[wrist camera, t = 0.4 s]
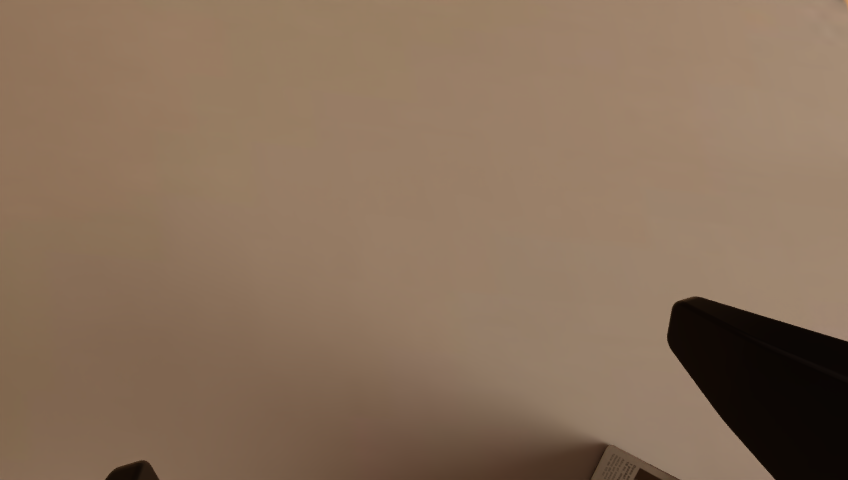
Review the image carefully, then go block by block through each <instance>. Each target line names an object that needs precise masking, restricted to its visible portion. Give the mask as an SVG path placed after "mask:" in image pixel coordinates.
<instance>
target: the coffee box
mask: <svg viewBox="0 0 848 480" xmlns="http://www.w3.org/2000/svg"><path fill="white" fill-rule="evenodd" d="M591 480H680V479H678V478H676V477H674V476H672V475H670V474H668V473H666V472H664V471H662V470H660V469H658V468H656V467H654V466H652V465H650V464H648V463H646V462H645V461H643V460H641V459H639V458H637V457H635V456H633V455H631V454H629V453H627V452H625V451H623V450H621V449H619V448H617V447H616V446H614V445H609V446H608V447H607V448H606V450H605V452H604V454H603V456H602V458H601V460H600V462H599V464H598V466H597V468H596V470H595V472H594V474H593V476H592V479H591Z"/></svg>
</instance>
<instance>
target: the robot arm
mask: <svg viewBox="0 0 848 480" xmlns="http://www.w3.org/2000/svg"><path fill="white" fill-rule="evenodd" d="M667 341H668V344H669V346H670V348H671V350H672V352H673V353H674V354H675V356H676V357H677V358H678V360H679V361H680V362H681V364H682V365H683V367H684V368H685V369H686V371H687V372H688V373H689V375H690V376H691V378H692V379H693V380H694V382H695V383H696V384H697V386H698V387H699V388H700V390H701V391H702V393H703V394H704V395H705V397H706V398H707V399H708V401H709V402H710V403H711V405H712V406H713V408H714V409H715V410H716V411H717V413H718V414H719V415H720V417H721V418H722V419H723V420H724V422H725V423H726V424H727V425H728V426H729V428H730V429H731V430H732V431H733V432H734V433H735V435H736V436H737V437H738V438H739V439H740V440H741V441H742V442H743V444H744V445H745V446H746V447H747V448H748V449H749V450H750V452H751V453H752V454H753V455H754V456H755V457H756V458H757V459H758V461H759V462H760V463H761V464H762V465H763V466H764V467H765V469H766V470H767V471H768V472H769V473H770V474H771V475H772V477H773V478H774V479H775V480H848V342H847V341H844V340H841V339H838V338H834V337H831V336H828V335H824V334H821V333H818V332H814V331H811V330H808V329H804V328H801V327H798V326H794V325H791V324H788V323H784V322H781V321H778V320H774V319H771V318H768V317H764V316H761V315H758V314H754V313H751V312H748V311H745V310H741V309H738V308H735V307H731V306H728V305H725V304H721V303H718V302H715V301H711V300H708V299H705V298H701V297H690V298H687V299H683V300H680V301H677V302H676V303H675V304H674V305H673V307H672V311H671V316H670V322H669V327H668V333H667ZM105 480H159V478H158V477H157V475H156V473H155V471H154V470H153V468H152V466H151V465H150V463H149V462H147V461H145V460H141V461H137V462H134V463H130V464H127V465H124V466H120V467H118V468H116V469H114V470H113V471H112V472H111V473H110V474H109V475H108V477H107V478H106V479H105Z"/></svg>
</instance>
